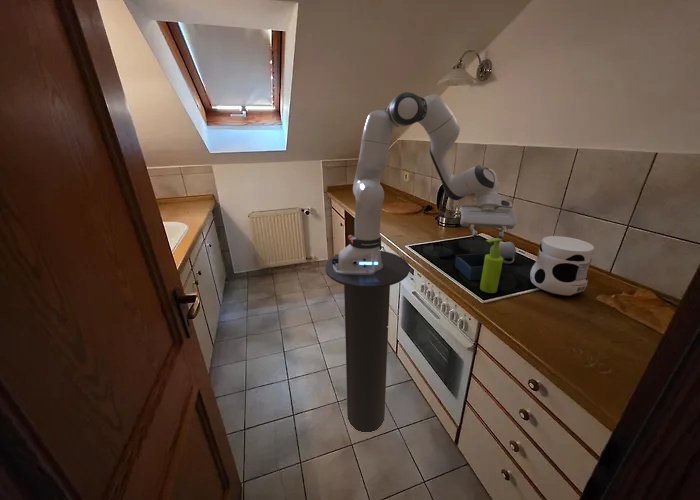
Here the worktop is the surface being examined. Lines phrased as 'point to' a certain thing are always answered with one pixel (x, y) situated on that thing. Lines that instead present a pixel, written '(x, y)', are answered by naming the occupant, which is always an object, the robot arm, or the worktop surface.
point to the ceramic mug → (507, 251)
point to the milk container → (562, 265)
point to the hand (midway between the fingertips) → (487, 236)
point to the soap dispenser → (492, 267)
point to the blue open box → (469, 260)
